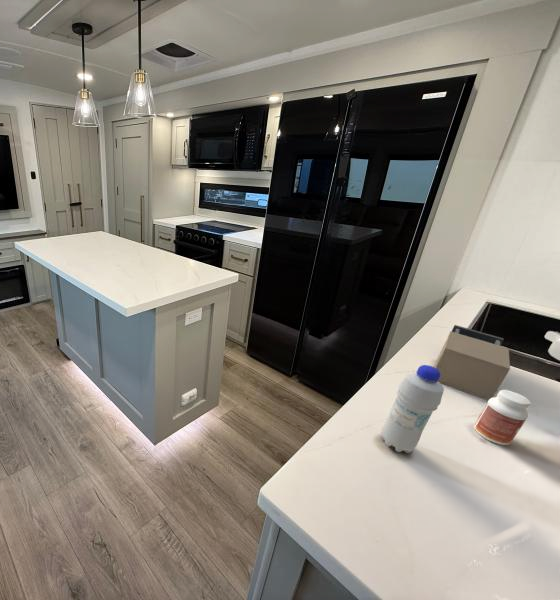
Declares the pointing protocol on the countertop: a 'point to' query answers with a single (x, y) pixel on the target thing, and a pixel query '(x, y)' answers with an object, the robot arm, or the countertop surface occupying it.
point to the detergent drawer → (477, 335)
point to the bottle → (412, 408)
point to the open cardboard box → (472, 365)
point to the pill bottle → (502, 417)
